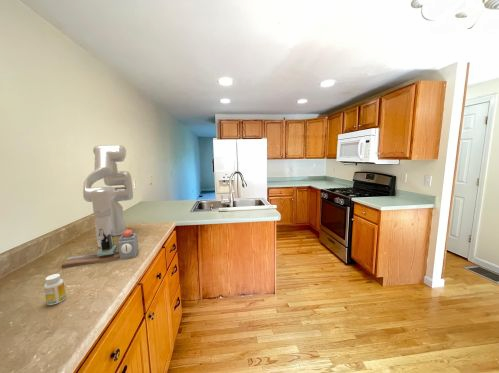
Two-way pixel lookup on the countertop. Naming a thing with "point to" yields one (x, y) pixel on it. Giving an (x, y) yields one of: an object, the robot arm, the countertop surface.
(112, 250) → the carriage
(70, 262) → the rail bed
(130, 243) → the cabinet
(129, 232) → the button
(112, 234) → the syrup box
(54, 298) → the supplement bottle
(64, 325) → the countertop surface
